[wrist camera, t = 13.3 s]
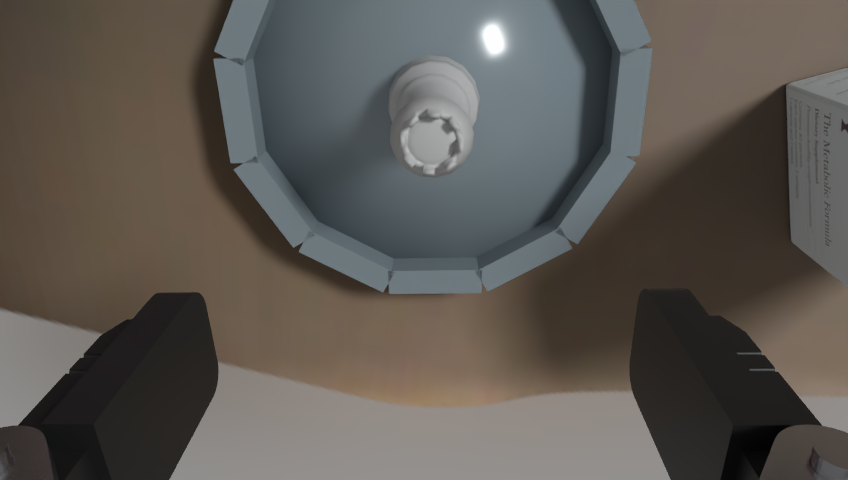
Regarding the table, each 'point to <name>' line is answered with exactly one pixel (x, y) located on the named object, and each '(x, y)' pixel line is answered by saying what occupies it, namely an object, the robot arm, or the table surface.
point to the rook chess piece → (432, 115)
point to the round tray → (493, 130)
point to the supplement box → (819, 169)
